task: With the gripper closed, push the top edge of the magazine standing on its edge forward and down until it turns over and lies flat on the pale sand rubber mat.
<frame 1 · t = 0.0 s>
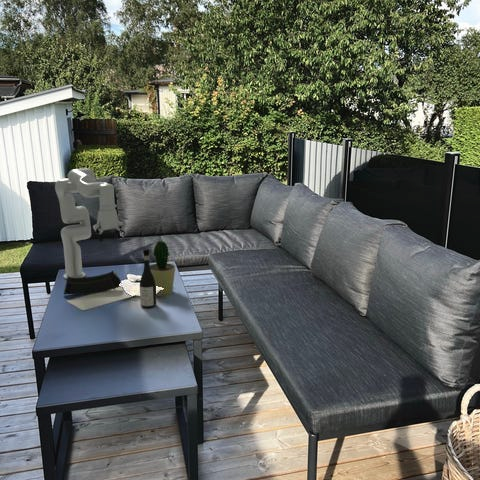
hand: (109, 239, 255), 31 cm above the table, tool pointing down, fingers open, 9 cm apart
wine bottle: (148, 306, 247), on the table
magazine: (93, 292, 265), on the table, touching mat
potted cactus: (161, 292, 267), on the table
mat: (103, 298, 258), on the table
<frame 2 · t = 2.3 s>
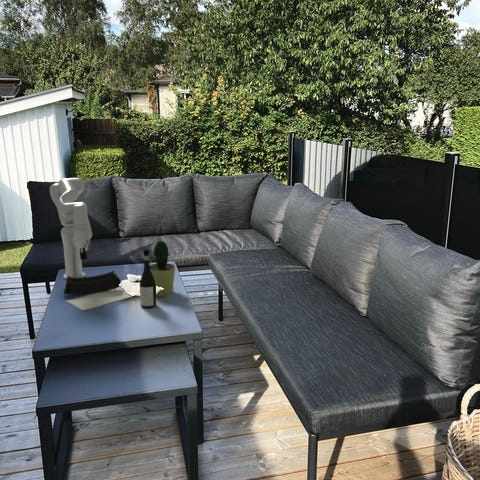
hand: (83, 259, 267), 18 cm above the table, tool pointing down, fingers closed
magazine: (93, 292, 265), on the table, touching mat
everything else where it was.
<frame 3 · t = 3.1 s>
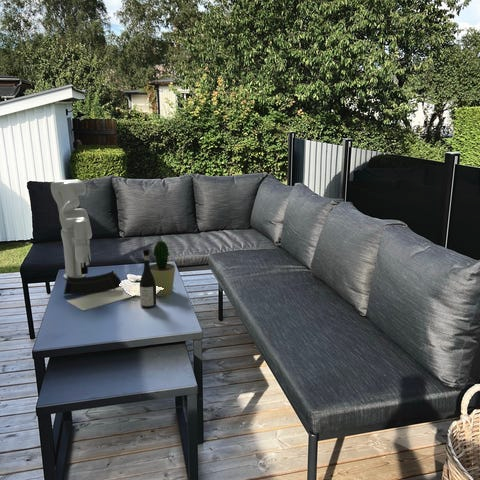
hand: (84, 273, 269), 9 cm above the table, tool pointing down, fingers closed
nothing on the table moved.
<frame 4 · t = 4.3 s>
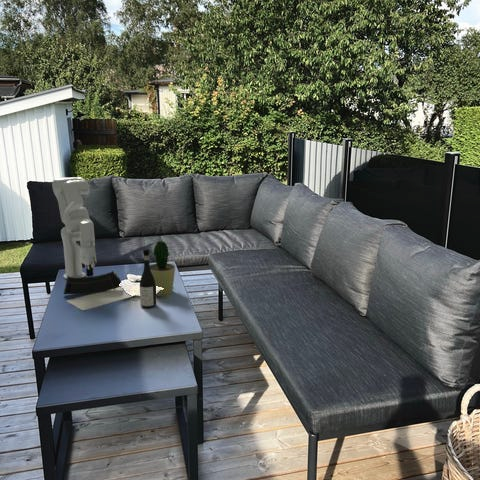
hand: (90, 275, 265), 9 cm above the table, tool pointing down, fingers closed
magazine: (93, 292, 265), on the table, touching mat
everything else where it was.
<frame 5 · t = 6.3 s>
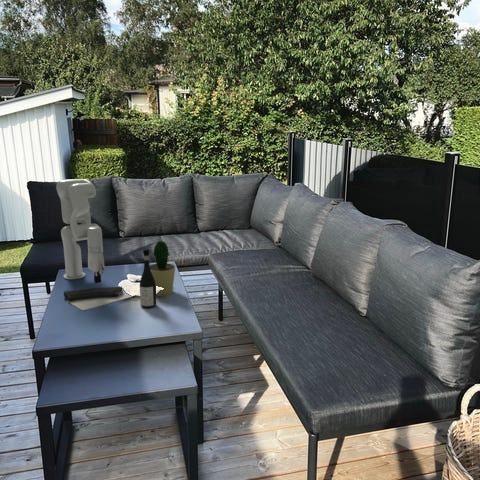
hand: (97, 282, 259), 8 cm above the table, tool pointing down, fingers closed
magazine: (93, 290, 263), point 2 cm above the table, touching mat
everything else where it was.
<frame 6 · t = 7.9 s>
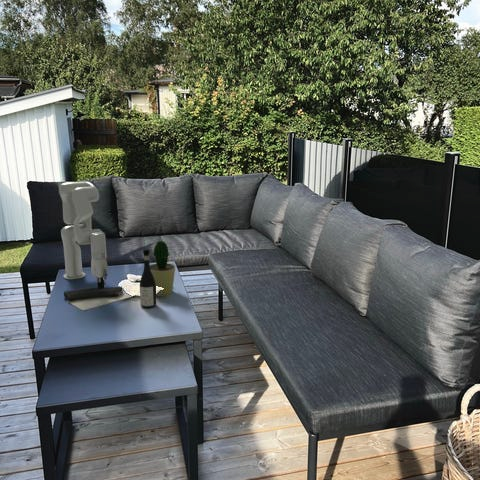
hand: (101, 288, 258), 5 cm above the table, tool pointing down, fingers closed
nothing on the table moved.
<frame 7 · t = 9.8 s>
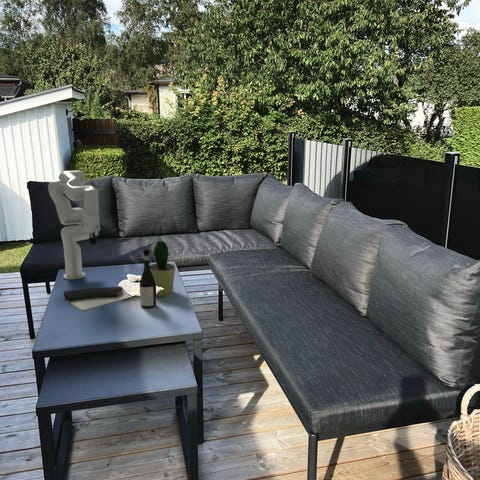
hand: (93, 243, 264), 27 cm above the table, tool pointing down, fingers closed
nothing on the table moved.
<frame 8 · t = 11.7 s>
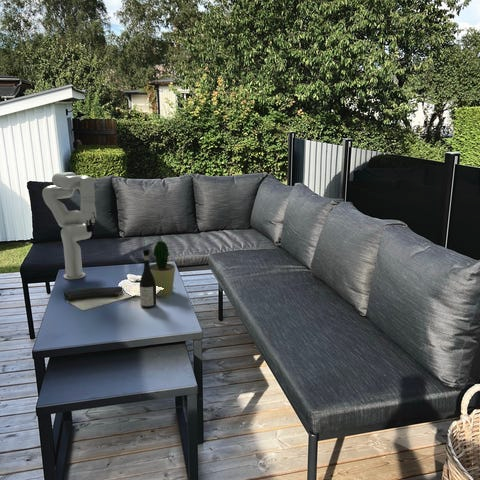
hand: (90, 231, 269), 32 cm above the table, tool pointing down, fingers closed
nothing on the table moved.
at the end: magazine inside the target area (2.6 cm from its centre), point 2.0 cm above the table; magazine touching mat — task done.
